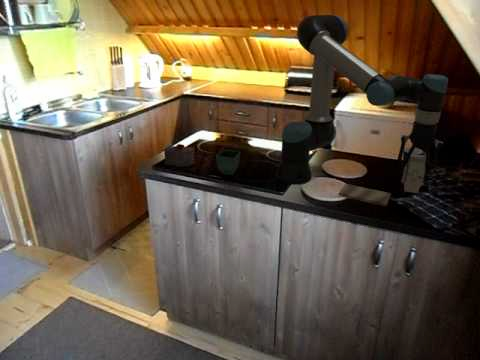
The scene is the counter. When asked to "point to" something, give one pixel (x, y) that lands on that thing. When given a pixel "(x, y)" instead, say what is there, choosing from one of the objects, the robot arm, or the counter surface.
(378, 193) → the birch board
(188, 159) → the food item
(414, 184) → the ink cartridge box
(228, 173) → the flower pot
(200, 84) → the counter surface
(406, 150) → the dixie cup
